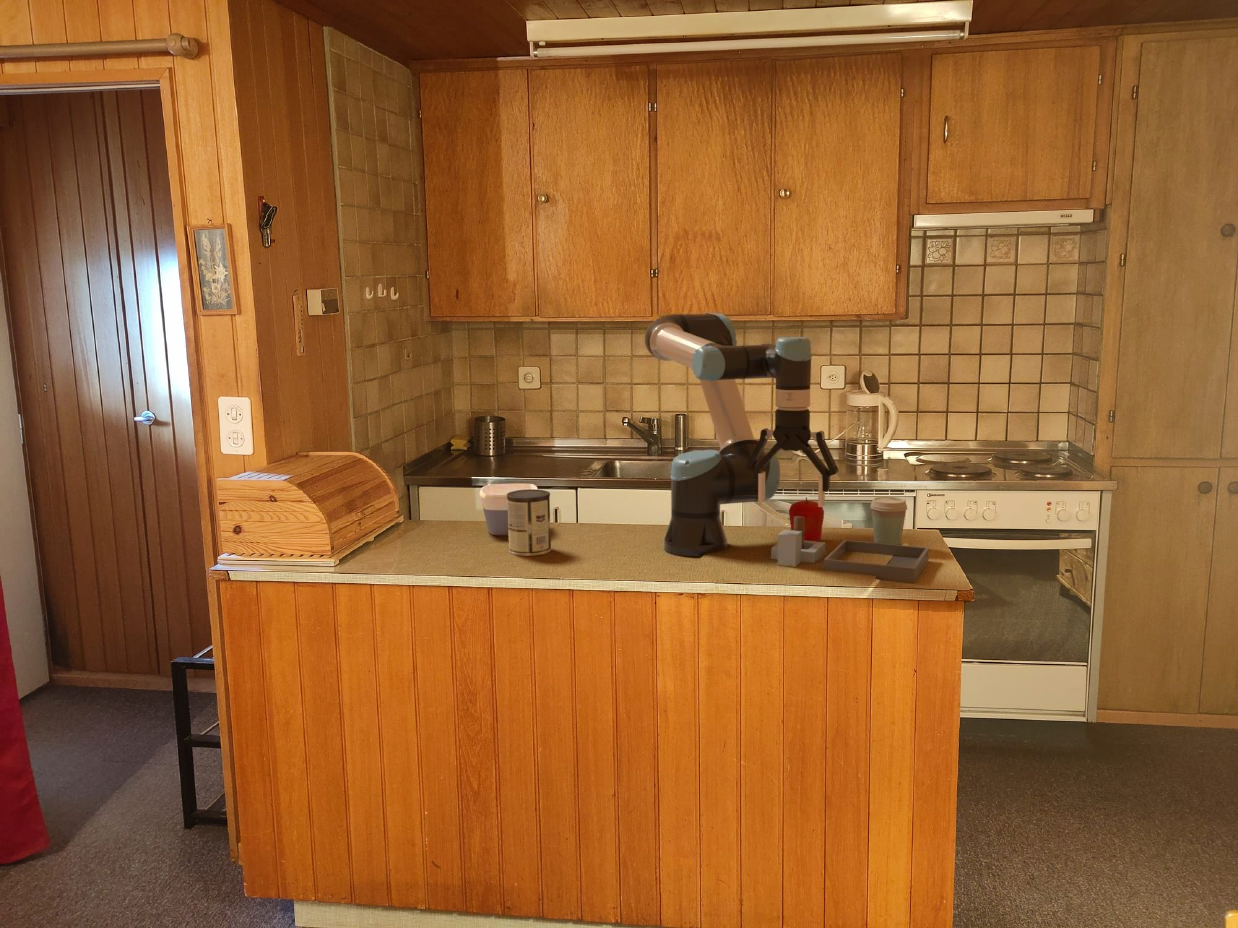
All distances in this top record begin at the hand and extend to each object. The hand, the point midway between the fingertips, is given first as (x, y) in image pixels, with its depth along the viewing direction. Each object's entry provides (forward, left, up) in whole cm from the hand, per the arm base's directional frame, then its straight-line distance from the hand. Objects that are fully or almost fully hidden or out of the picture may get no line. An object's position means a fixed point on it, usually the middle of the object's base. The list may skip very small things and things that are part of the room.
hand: (791, 503), depth 231 cm
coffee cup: (+17, +25, -15) cm, 33 cm away
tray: (+18, +8, -15) cm, 24 cm away
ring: (0, +5, -14) cm, 15 cm away
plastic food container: (-76, +6, -15) cm, 78 cm away
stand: (0, +8, -15) cm, 16 cm away
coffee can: (-61, -10, -15) cm, 64 cm away
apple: (-2, +22, -15) cm, 26 cm away
